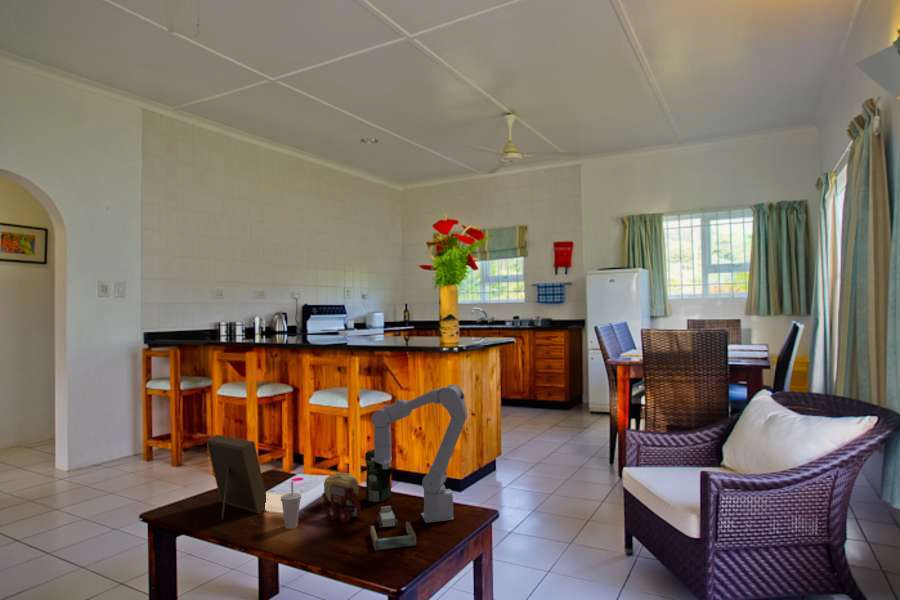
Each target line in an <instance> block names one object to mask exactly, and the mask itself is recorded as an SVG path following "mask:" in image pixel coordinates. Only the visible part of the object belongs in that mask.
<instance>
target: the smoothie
mask: <svg viewBox="0 0 900 600" xmlns="http://www.w3.org/2000/svg"><path fill="white" fill-rule="evenodd" d="M290 488H291V489H290V492H291V493H285V494H283V495H281V496H280V501H281V506H282V512H283V519H284V527H285V529H286V530H293V529H296V528H297V527H298V524H299V523H298V522H299V514H300V513H299V512H300V504H301V500H302V494H301V493H298V492H294V481H291V487H290Z"/></svg>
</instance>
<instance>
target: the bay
mask: <svg viewBox="0 0 900 600" xmlns="http://www.w3.org/2000/svg"><path fill="white" fill-rule="evenodd" d="M405 531H406V533H407V535H399V536H391V537H383V538H378V535H377V532H376V529H375V525H370V537H371V542H372V544H373V548H374V551H379V550H387V549H397V548H405V547H410V546H411V547H415V546H417V536H416V533H415V531H414V529H413V527H412V525H411V522H410V521H405Z"/></svg>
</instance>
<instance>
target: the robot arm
mask: <svg viewBox="0 0 900 600" xmlns="http://www.w3.org/2000/svg"><path fill="white" fill-rule="evenodd" d="M465 399H466V397H465V393H464V391H463V390H462V388H461V387H460V386H459V385H457V384H454V383H453V384H452V383H451V384H448V385H447V386H442V387H439V388H435V389H432V390H430V391H427V392H426V393H424V394H421V395H420V396H417V397H415V398H414V399H411V400H406V399H400V398H399V399H396V400H395V402H394V403H392V404H390V405H387V404H386V405H384V406H383V407H382V408H380V409H377V410H376V411H375V412H374V413H372V415H371V422H372V425H373V440H374V441H373V442H374V445H373V449H374V458H371V461H373V463H374V465H375V467H376V471H377V476H378V481H379V482H380V484H381V488H382V489H388V486H389V480H390V481H391V476H392V474H393V472H394V467H393V466H390V467H389V463H390V464H391V461H392V460H393V457H392V431H391V430H392V427H391V423H395V422H397V421H400V420H401V419H404V418H407V417H409V416H410V415H411V413H412V411H413V410H415V409H418V408H421V407H423V406H425V405H428V404H430V403H431V404H436V405H439V404H440V405H441V406H442V407H443V408H445V410H447V413H448V414H449V416H450V419H449V423H448V425H447V428H446V430H445V433H444V435H443V438H442V440H441V442H440V446H439V447H438V451H437V452H436V456H435V458H434V461H433V463H432V464H431V467H430V468H429V471H428V473H427V474H425V476H424V477H423V478H422V481H421V485H422V488H423V512H421V514H420V515H421V517H422V519H423V521H424V522H425V523H435V522H444V521H445V522H446V521H453V520H454V519H455V518H454V496H453V491H452V489H451V488H446V486H445V483H446V480H447V469H448V468H449V464H450V460H451V458H452V455H453V453H454V451H455V448H456V445H457V442H458V440H459V438H460V436H461V432H462V430H463V428H464V425H465V423H466V420H467V417H468V413H467V406H466V400H465Z"/></svg>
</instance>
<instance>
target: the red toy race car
mask: <svg viewBox="0 0 900 600" xmlns="http://www.w3.org/2000/svg"><path fill="white" fill-rule="evenodd" d="M330 493H331V502H330V506H329V507H328V508H327V510H326V513H327V517H328V518H329V520H336V519H337V518H338V519H339V520H340V522H342V523H347V522H349V520H350V519H351V517H353V518H357V517H359V516H360V515H361V511H362V510H361V503H360V501H359V497H358V496H357V494H356V493H354V488H353V487H349V488H348V487H346V486H341V485H336V484H333V485H331V486H330Z"/></svg>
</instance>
